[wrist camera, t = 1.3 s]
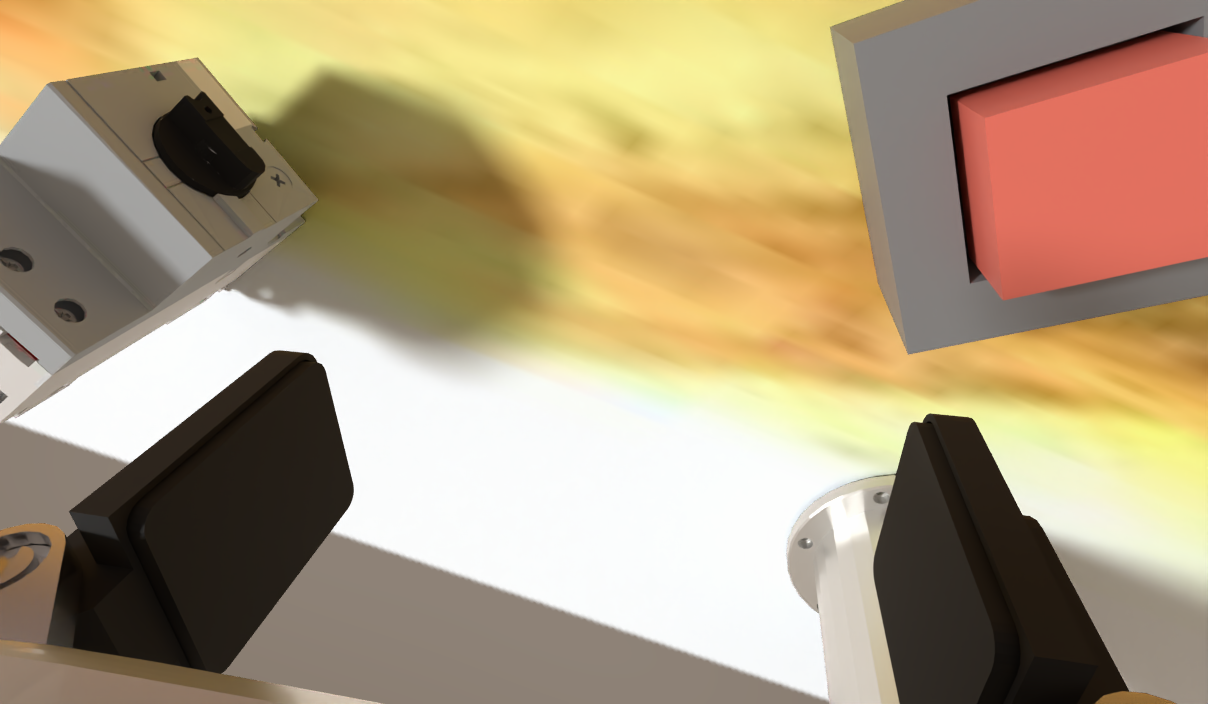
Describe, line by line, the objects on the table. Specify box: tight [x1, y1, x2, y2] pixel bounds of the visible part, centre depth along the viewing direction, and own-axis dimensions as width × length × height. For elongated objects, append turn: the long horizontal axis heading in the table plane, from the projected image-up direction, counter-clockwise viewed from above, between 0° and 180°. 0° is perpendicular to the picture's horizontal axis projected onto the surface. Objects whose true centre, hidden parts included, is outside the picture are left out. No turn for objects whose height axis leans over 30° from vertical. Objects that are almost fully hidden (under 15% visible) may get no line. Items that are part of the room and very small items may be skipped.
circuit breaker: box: [0, 58, 318, 424], centre depth 30 cm, size 8×14×15 cm, turn 126°
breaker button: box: [950, 31, 1208, 300], centre depth 22 cm, size 6×6×4 cm
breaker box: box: [830, 0, 1208, 354], centre depth 25 cm, size 12×12×7 cm
